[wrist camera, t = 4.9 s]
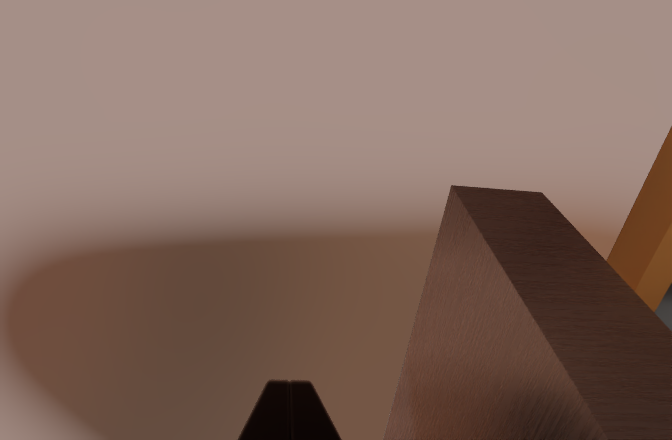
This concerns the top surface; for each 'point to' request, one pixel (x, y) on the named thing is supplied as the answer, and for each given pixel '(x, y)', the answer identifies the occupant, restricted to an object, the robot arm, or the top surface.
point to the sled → (528, 334)
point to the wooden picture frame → (650, 239)
